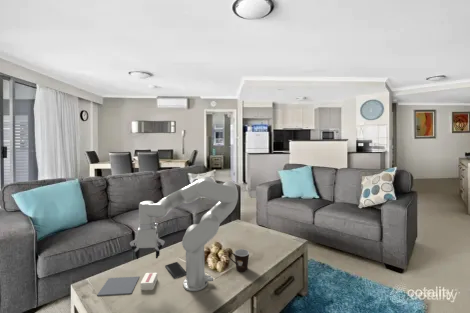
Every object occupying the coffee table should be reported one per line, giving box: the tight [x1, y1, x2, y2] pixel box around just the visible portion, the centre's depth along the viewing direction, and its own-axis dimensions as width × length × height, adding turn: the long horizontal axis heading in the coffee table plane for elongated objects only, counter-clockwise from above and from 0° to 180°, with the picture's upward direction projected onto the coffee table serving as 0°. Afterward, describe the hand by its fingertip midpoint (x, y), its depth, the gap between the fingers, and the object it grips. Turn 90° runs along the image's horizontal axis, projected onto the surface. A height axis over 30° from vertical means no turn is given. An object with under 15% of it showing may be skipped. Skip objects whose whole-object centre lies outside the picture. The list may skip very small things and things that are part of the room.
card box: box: [140, 272, 158, 291], centre depth 129 cm, size 6×9×4 cm, turn 3°
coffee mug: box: [228, 248, 250, 273], centre depth 145 cm, size 12×9×10 cm
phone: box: [164, 261, 186, 279], centre depth 143 cm, size 8×1×15 cm
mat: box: [97, 275, 140, 297], centre depth 128 cm, size 16×14×1 cm
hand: (147, 257), depth 128 cm, fingers open, 9 cm apart
